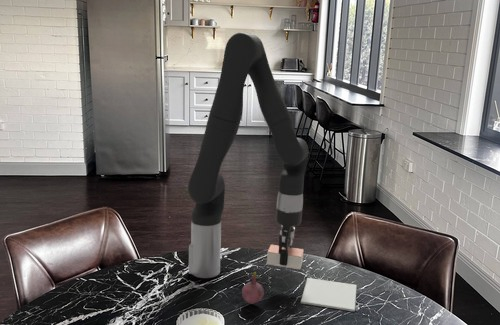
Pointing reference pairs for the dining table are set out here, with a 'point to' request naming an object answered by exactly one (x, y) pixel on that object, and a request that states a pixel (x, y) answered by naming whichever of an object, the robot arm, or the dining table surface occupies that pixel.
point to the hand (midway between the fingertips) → (285, 260)
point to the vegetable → (252, 291)
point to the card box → (293, 257)
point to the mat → (329, 294)
